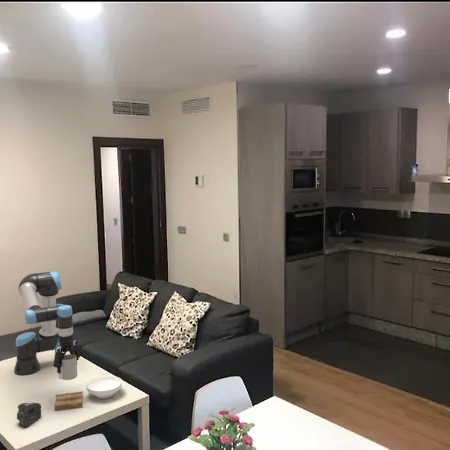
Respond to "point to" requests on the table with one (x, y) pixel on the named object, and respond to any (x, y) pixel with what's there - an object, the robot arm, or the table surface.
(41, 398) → the table surface
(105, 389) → the bowl
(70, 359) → the mug
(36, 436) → the table surface
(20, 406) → the camera
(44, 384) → the table surface
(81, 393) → the trivet
